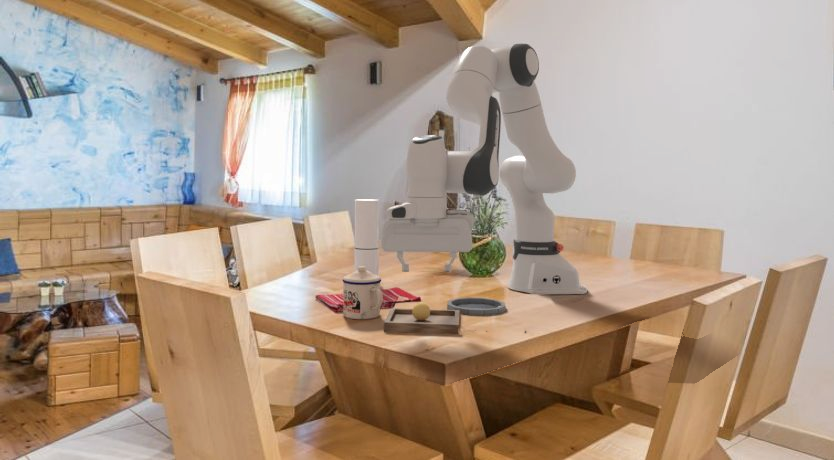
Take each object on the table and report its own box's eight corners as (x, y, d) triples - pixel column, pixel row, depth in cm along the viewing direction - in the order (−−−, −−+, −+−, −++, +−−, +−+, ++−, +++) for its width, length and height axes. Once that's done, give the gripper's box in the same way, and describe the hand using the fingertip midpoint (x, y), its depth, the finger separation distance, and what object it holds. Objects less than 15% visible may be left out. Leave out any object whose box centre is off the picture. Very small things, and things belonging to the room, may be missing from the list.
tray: (459, 318, 153) (459, 310, 153) (458, 334, 139) (458, 324, 139) (391, 316, 154) (391, 308, 154) (383, 331, 140) (384, 322, 140)
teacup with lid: (334, 314, 155) (334, 266, 154) (365, 309, 161) (365, 262, 160) (365, 324, 146) (365, 273, 145) (396, 318, 152) (397, 269, 151)
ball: (432, 315, 148) (428, 299, 148) (431, 320, 144) (427, 302, 144) (415, 320, 149) (411, 303, 148) (414, 324, 145) (409, 307, 144)
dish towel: (423, 307, 167) (423, 297, 167) (334, 315, 157) (334, 304, 157) (397, 294, 182) (397, 285, 182) (314, 301, 172) (314, 291, 172)
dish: (503, 306, 166) (503, 298, 166) (506, 320, 152) (506, 310, 152) (448, 305, 167) (448, 296, 167) (446, 318, 153) (446, 308, 153)
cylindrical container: (380, 282, 198) (380, 199, 195) (376, 286, 191) (376, 200, 188) (356, 281, 199) (357, 199, 196) (352, 285, 192) (352, 200, 189)
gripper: (473, 208, 146) (473, 269, 148) (382, 208, 148) (383, 268, 149) (474, 210, 140) (474, 274, 142) (379, 210, 141) (380, 273, 143)
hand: (426, 271), depth 146 cm, fingers open, 8 cm apart
